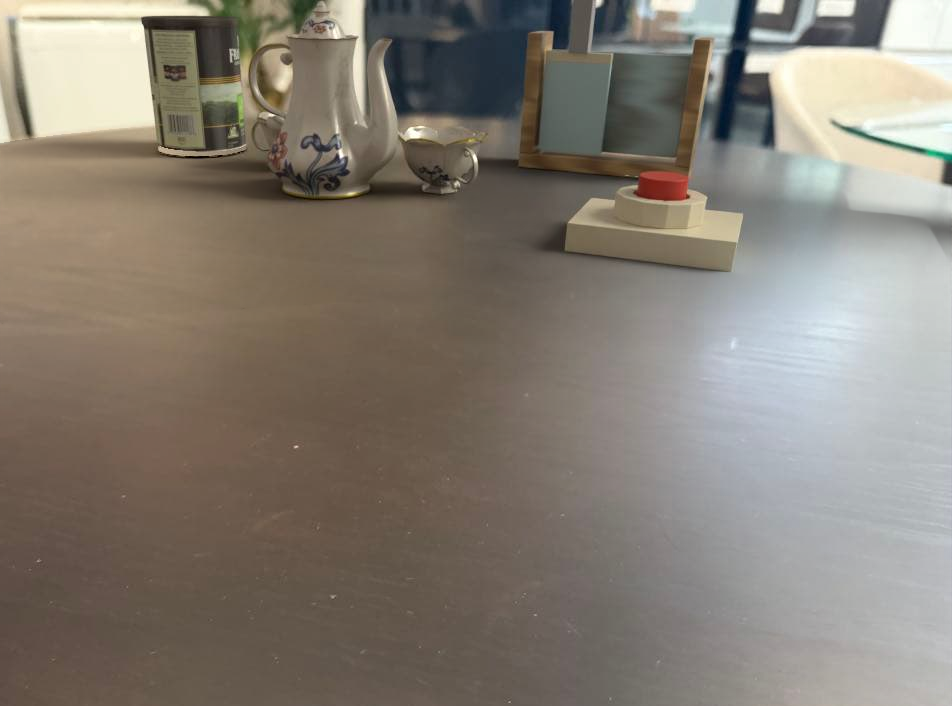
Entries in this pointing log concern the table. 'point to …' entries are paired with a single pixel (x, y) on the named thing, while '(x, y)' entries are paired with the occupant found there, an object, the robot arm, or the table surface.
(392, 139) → the chinaware
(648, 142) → the window frame
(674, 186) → the button
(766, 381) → the table surface
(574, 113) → the blue-grey flat panel
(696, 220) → the button box
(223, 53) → the coffee can
